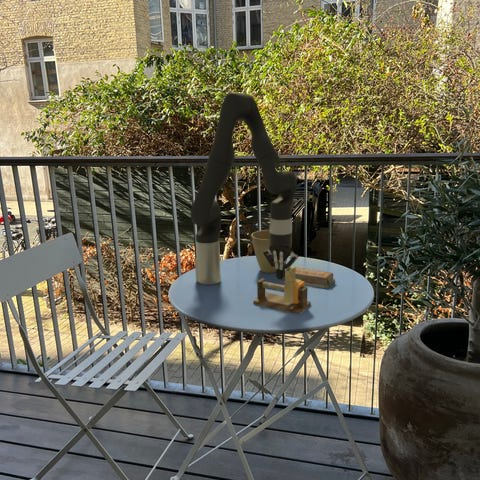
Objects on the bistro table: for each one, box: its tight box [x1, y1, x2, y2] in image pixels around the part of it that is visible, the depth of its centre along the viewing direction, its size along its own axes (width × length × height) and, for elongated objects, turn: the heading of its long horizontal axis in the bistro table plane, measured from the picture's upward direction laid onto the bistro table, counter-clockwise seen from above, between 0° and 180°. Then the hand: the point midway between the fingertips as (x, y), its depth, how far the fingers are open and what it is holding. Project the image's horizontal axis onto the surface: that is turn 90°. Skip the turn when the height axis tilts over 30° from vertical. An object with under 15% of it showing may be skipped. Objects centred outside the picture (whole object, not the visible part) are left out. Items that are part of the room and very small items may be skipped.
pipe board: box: [253, 277, 312, 315], centre depth 159 cm, size 18×9×8 cm, turn 58°
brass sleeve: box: [283, 265, 302, 304], centre depth 156 cm, size 4×6×11 cm, turn 148°
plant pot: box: [251, 229, 276, 274], centre depth 193 cm, size 15×15×16 cm
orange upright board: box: [294, 281, 306, 304], centre depth 155 cm, size 1×6×6 cm, turn 147°
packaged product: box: [295, 266, 336, 290], centre depth 181 cm, size 18×5×10 cm
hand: (280, 278), depth 158 cm, fingers closed
